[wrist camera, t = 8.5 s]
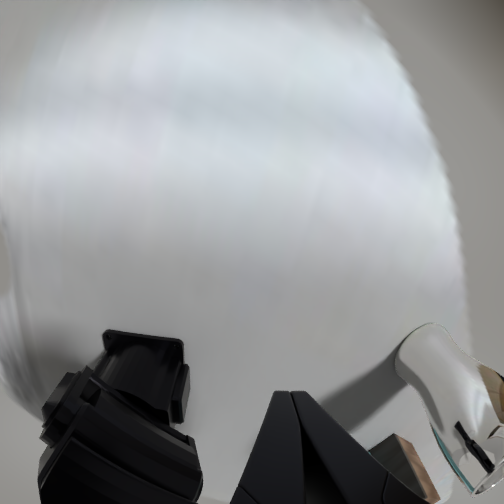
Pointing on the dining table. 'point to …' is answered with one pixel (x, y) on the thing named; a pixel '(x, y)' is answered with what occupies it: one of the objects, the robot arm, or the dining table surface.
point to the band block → (405, 466)
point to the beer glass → (457, 404)
